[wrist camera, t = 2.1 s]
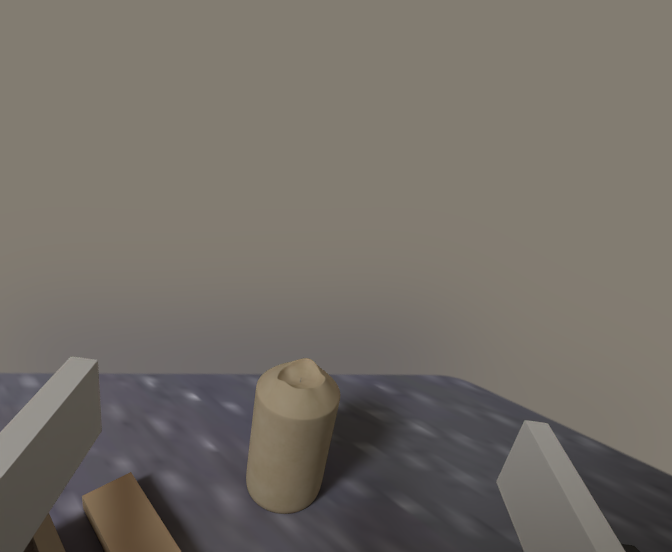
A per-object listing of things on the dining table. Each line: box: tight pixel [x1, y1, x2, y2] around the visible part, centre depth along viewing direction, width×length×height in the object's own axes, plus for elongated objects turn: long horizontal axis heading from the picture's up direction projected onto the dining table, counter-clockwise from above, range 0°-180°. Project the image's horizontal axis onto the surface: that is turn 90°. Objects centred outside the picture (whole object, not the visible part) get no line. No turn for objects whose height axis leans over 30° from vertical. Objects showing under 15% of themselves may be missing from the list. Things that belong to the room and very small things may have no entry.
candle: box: [246, 358, 340, 514], centre depth 30 cm, size 6×6×10 cm
